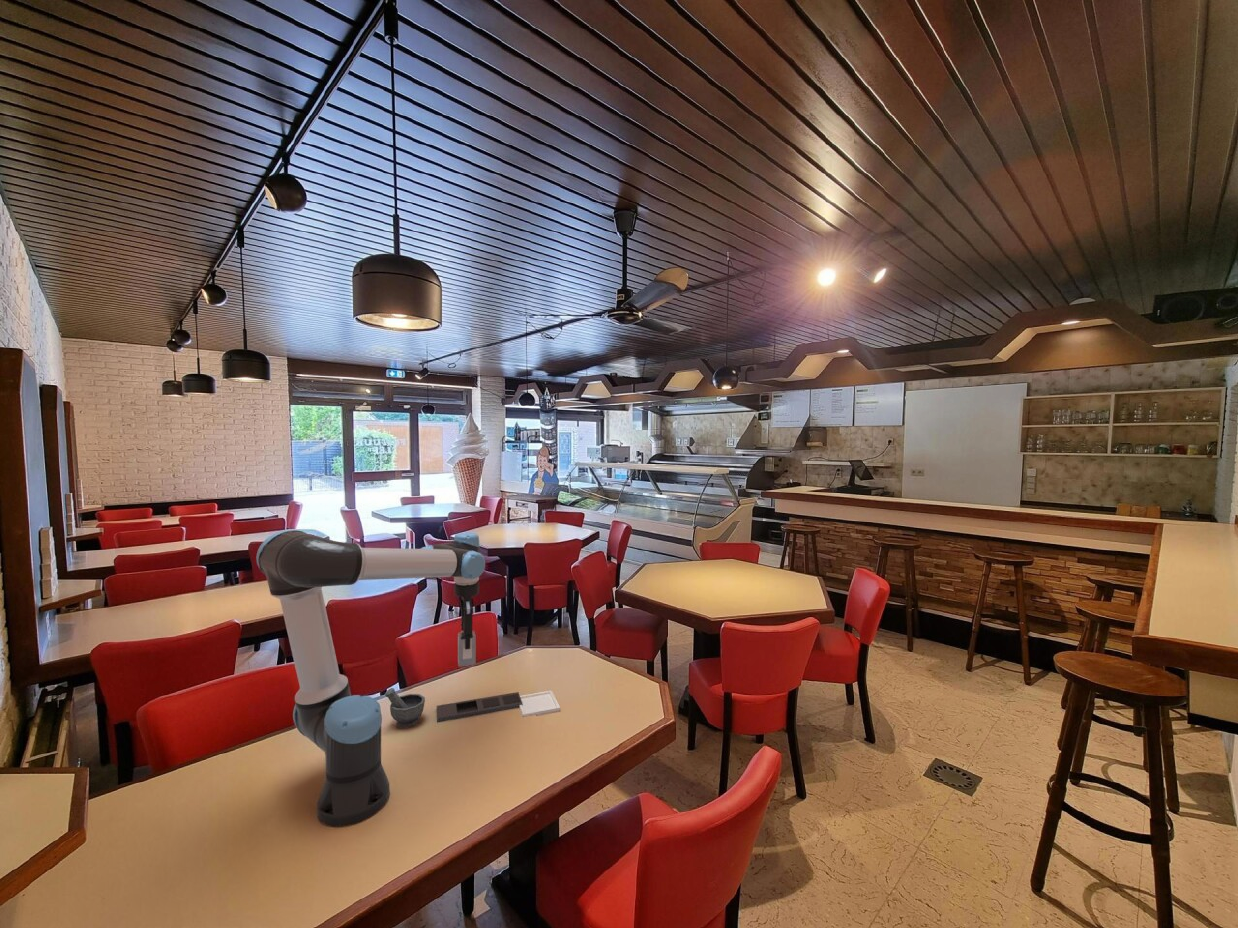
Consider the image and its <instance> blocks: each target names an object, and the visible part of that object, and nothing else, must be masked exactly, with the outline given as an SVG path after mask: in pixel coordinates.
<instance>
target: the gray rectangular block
mask: <svg viewBox="0 0 1238 928" xmlns="http://www.w3.org/2000/svg"><path fill="white" fill-rule="evenodd" d="M472 635H473V638H472V658H469V659H463V639H461V637H463V632H462V631H461V632H457V664H458V668H460V667H468V666H474V665H476V659H477V658H476V654H477V653H476V651H477V650H476V648H477V646H476V644H477V643H476V638H477V637H476V636H477V635H476V633H475V630H472Z"/></svg>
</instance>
